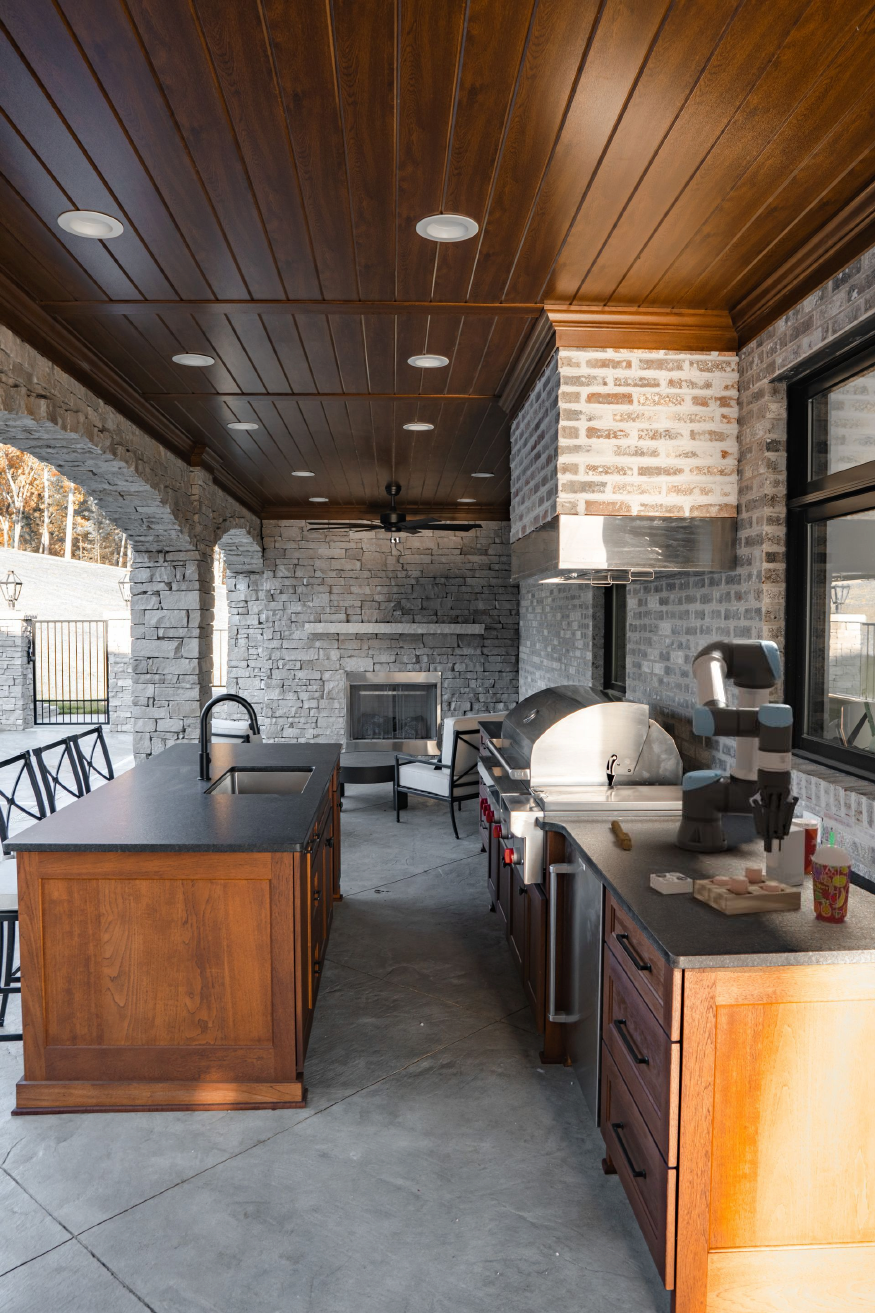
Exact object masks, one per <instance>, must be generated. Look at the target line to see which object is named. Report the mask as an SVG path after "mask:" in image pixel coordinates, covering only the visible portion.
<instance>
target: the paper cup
mask: <svg viewBox="0 0 875 1313" xmlns="http://www.w3.org/2000/svg"><path fill="white" fill-rule="evenodd" d="M791 825H792V826H795V827H799V828H802V829H805V853H804V873H811V872H812V859H811V858H812V856H814V854H815V852H816V850H817V845H818V835H819V834H818V833H819V828H820V825H819V822H818V821H817V820H815V819H812V818H811V819H809V818H802V817H801V818H793V819H792V823H791ZM811 874H812V873H811Z"/></svg>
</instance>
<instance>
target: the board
mask: <svg viewBox="0 0 875 1313" xmlns="http://www.w3.org/2000/svg"><path fill="white" fill-rule="evenodd" d="M743 877H745V875H744V876H743ZM728 878H729V879H730V880H731V877H728ZM765 882H775V883H778V884H779V885H781V892H771V893H769V892H767V891H765V890H763V883H765ZM730 887H731V886H717V885H715V884H713V878H706V879H695V880H693V897H695V898H697V899H698V900H700V901H702V902H703V903H706V905H707V904H708V905H709V906H712V907H713V908H714V909H717V910H718V911H720V912H722V913H723V914H725V915H728V916H729V915H740V914H751V913H762V912H773V911H775V912H776V911H785V910H786V911H787V910H795V909H796V910H797V909H801V908H802V907H801V906H802V891H801V890H798V889H796V888H794V887H793V886H787V885H785V884H783V883H780V882H778V881H776V880H774V879H771V878H769V877H767V876H766V874H765V875H764V874H762V883H757V884H750V883H748V894H747V895H735V894H733V893H731V892H730Z"/></svg>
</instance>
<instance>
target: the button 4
mask: <svg viewBox="0 0 875 1313" xmlns="http://www.w3.org/2000/svg"><path fill="white" fill-rule="evenodd" d="M763 890H765V891H767V892H769V893H771V892H781V885H779V884H778V883H775V882H765V883H763Z"/></svg>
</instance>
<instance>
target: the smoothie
mask: <svg viewBox="0 0 875 1313" xmlns="http://www.w3.org/2000/svg"><path fill="white" fill-rule="evenodd" d="M829 839H830V843H827V844H823V845H821V846H819V847H818V848H816V852H815V854H814V856H812V858H811V859H812V873H811V875H812V876H811V877H812V894H813V896H812V897H813V912H814V913H815V915H816V918H817V919H818V920H820V921H822V922H826V923H831V924H839V923H840V924H841V923H843V922H844V921H845V918H847V916H848V908H849V907H848V904H849V896H850V895H849V894H850V884H851V873H852V863H853V862H852V861H851V859H850V856H849V855H848V853H847V852H846V851H845V849H844V848H842V847H840V846H839V845H838V844H837V845H836V844H834V832H830V838H829Z"/></svg>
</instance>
